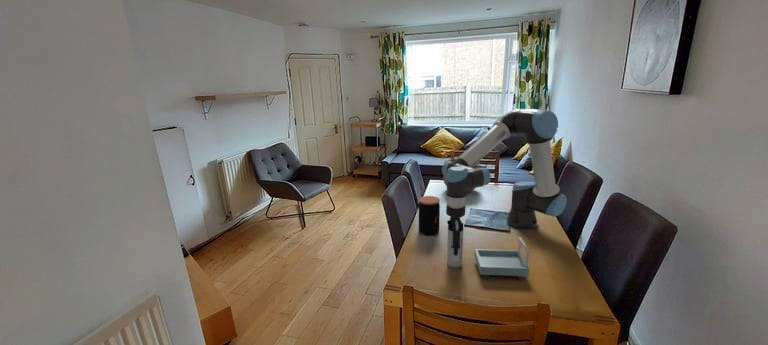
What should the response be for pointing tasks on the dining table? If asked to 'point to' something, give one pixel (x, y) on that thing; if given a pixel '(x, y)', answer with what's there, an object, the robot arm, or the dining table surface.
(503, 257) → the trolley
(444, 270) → the dining table surface
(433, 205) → the coffee jar
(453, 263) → the travel mug
